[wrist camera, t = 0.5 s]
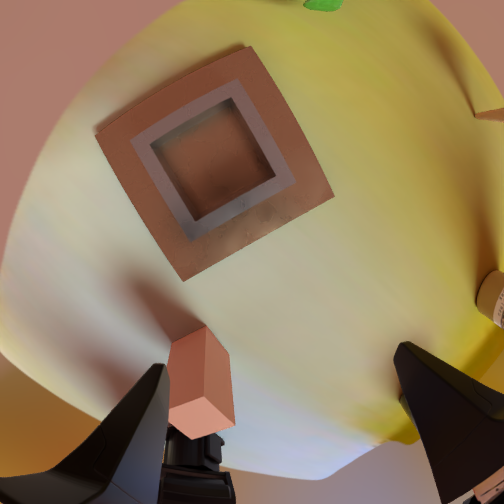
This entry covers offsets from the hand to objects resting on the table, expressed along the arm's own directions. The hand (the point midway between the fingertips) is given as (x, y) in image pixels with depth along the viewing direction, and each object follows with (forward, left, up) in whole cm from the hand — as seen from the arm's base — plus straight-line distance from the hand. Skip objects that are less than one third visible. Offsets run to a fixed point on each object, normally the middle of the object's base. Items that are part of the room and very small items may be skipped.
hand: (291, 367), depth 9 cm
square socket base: (+1, +8, -14) cm, 16 cm away
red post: (-9, -6, -14) cm, 18 cm away
